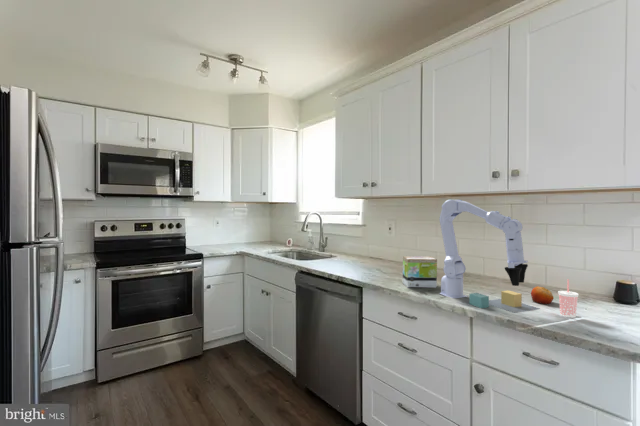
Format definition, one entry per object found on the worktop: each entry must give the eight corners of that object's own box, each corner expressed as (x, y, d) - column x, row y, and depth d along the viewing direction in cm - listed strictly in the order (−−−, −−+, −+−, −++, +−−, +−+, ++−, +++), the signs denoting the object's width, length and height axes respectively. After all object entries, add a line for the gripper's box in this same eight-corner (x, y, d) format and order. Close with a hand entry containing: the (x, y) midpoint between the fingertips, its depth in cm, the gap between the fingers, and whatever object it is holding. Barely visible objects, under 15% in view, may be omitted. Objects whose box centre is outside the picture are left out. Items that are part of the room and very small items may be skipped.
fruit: (527, 295, 146) (538, 281, 143) (545, 308, 142) (557, 293, 139) (524, 299, 140) (535, 285, 137) (543, 312, 136) (555, 297, 133)
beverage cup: (569, 313, 126) (569, 277, 126) (582, 319, 120) (583, 280, 120) (553, 314, 126) (554, 277, 125) (566, 319, 120) (566, 281, 119)
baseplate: (480, 302, 141) (480, 301, 141) (505, 299, 146) (505, 298, 146) (514, 314, 126) (514, 312, 126) (540, 310, 131) (540, 308, 131)
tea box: (407, 288, 167) (407, 258, 167) (402, 283, 177) (402, 255, 177) (437, 287, 167) (437, 258, 167) (430, 283, 177) (430, 255, 177)
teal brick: (469, 305, 138) (469, 293, 137) (476, 304, 139) (476, 292, 139) (481, 309, 132) (481, 297, 132) (488, 308, 133) (488, 296, 133)
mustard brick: (501, 303, 138) (501, 291, 138) (508, 302, 140) (508, 290, 139) (514, 307, 133) (514, 294, 132) (521, 306, 134) (521, 293, 134)
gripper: (521, 251, 125) (525, 287, 124) (530, 247, 135) (534, 281, 134) (500, 251, 130) (504, 286, 129) (511, 248, 140) (514, 280, 139)
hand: (518, 283), depth 132 cm, fingers open, 7 cm apart
